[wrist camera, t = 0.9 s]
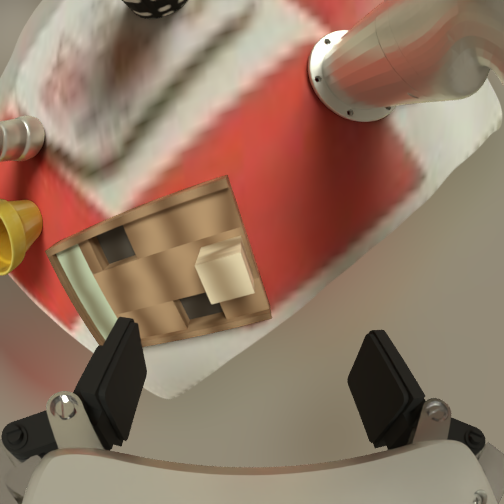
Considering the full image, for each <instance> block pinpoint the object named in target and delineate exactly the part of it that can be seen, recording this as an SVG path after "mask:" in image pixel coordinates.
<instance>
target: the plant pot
mask: <svg viewBox="0 0 504 504" xmlns="http://www.w3.org/2000/svg"><path fill="white" fill-rule="evenodd" d="M42 225H43V222H42V216H41V213H40V210H39V208H38V207H37V206H36V204H35V203H33V202H32V201H30V200H19V201H6V200H4V199H0V275H6V274H8V273H10V272H11V271H12V270H14V269H15V268H16V267H17V266H18V265H19V264H20V263H21V262H22V261H23V259H24V256H25V253H26V251H27V250H28V249H29V247H30V246H31V245H32V244H33V243H34V241H35V240H36V239H37V238H38V237H39V235H40V234H41V231H42Z"/></svg>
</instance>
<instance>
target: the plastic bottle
mask: <svg viewBox="0 0 504 504" xmlns="http://www.w3.org/2000/svg"><path fill="white" fill-rule="evenodd" d="M44 137H45V132H44V128H43V125H42V123H41V122H40V121H39V119H37V118H35V117H32V116H22V117H18V118H15V119H12V120H6V121H1V122H0V162H4V161H26V160H28V159H30V158H33V157H34V156H36V155H37V154H38V152H39V151H40V149H41V148H42V145H43V143H44Z"/></svg>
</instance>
